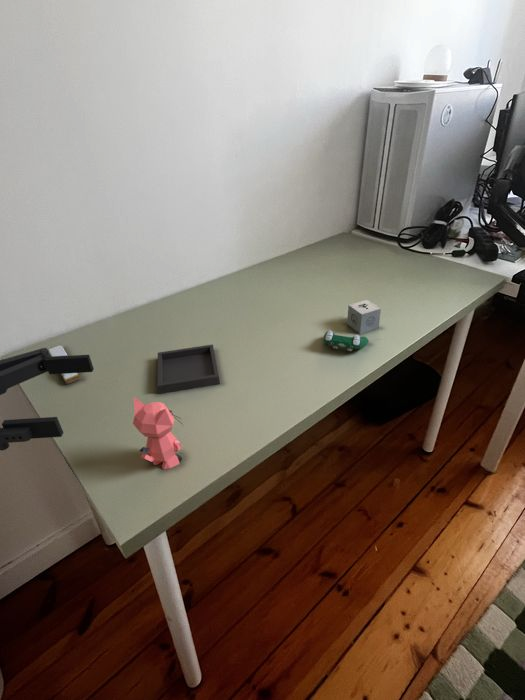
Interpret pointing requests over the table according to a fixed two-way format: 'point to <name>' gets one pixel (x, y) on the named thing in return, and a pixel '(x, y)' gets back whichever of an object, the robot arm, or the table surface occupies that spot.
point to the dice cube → (363, 316)
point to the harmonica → (61, 352)
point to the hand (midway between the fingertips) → (76, 392)
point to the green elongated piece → (345, 341)
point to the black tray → (187, 369)
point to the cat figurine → (157, 433)
